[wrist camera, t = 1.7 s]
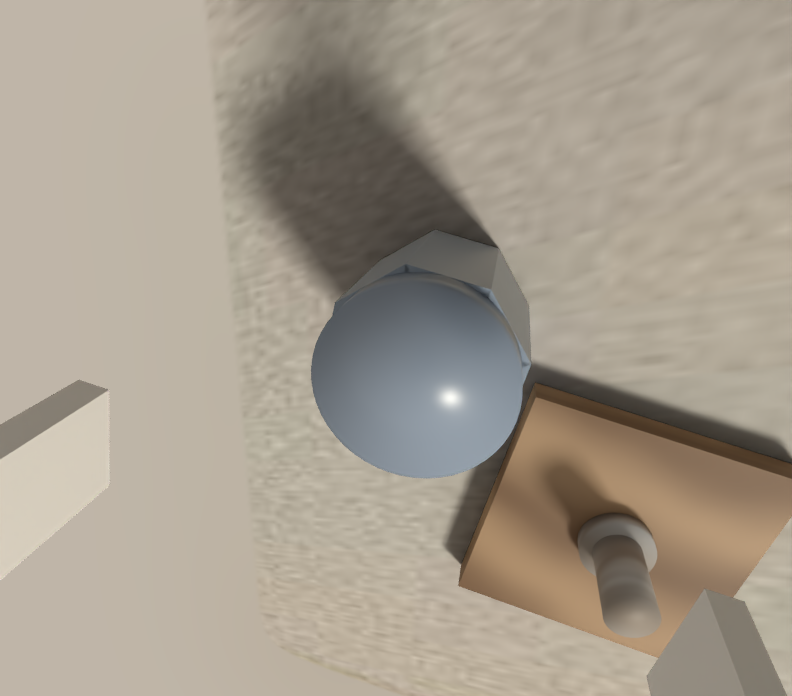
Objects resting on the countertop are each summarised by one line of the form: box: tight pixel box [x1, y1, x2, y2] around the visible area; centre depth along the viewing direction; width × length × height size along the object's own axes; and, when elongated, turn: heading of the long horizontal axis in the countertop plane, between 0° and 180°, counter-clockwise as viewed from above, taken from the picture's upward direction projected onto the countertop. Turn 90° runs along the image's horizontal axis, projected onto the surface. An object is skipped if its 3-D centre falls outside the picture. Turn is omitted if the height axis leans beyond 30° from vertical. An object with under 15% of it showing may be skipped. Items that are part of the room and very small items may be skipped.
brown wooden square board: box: [458, 383, 792, 658], centre depth 24 cm, size 12×12×6 cm
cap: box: [311, 230, 531, 478], centre depth 21 cm, size 7×7×8 cm
